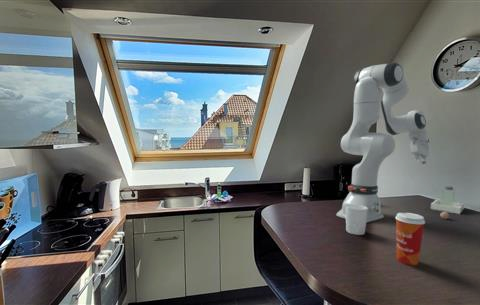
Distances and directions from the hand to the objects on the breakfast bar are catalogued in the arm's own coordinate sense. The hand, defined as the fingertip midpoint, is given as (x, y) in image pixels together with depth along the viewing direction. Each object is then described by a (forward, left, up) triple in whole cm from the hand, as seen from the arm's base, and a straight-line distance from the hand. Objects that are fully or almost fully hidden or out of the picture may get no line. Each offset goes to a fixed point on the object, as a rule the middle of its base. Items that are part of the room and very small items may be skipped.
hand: (421, 163), depth 151 cm
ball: (-23, -15, -23) cm, 35 cm away
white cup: (-72, +6, -23) cm, 76 cm away
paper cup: (-85, -15, -23) cm, 89 cm away
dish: (-1, -13, -23) cm, 26 cm away
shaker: (-1, -13, -22) cm, 26 cm away
